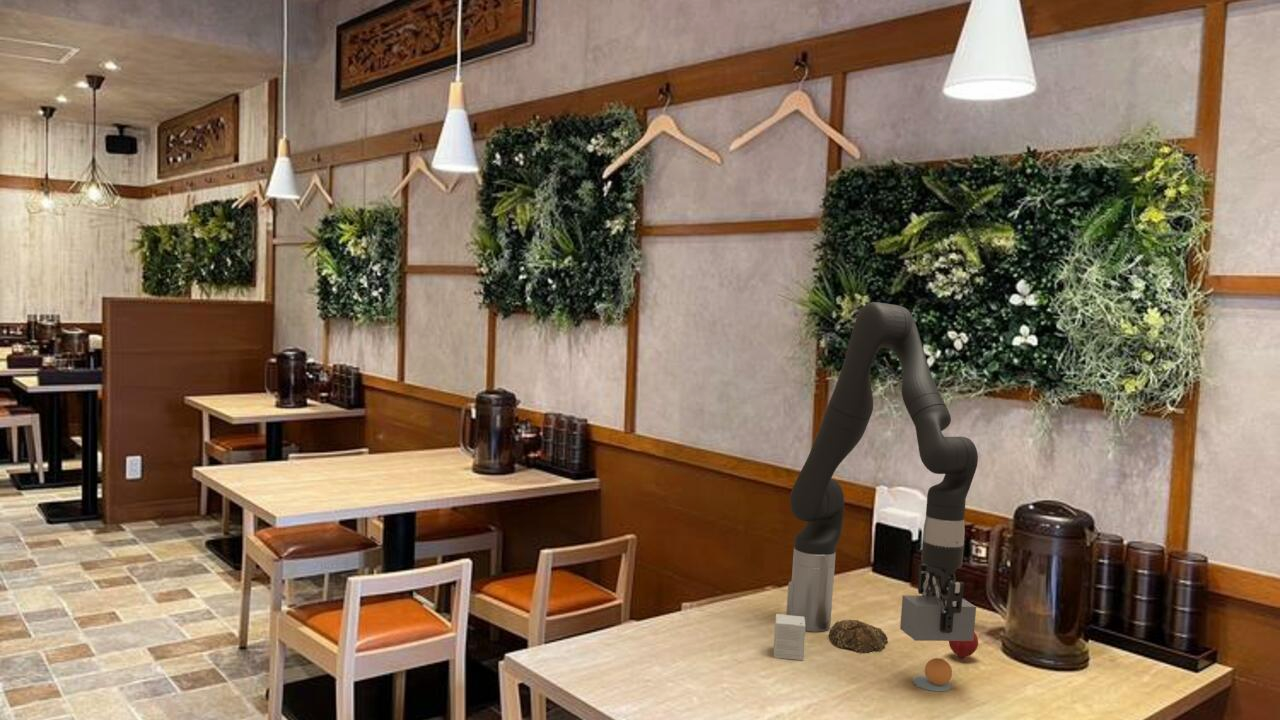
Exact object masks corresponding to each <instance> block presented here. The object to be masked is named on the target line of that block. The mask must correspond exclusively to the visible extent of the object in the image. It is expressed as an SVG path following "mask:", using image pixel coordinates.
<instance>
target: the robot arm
mask: <svg viewBox="0 0 1280 720" xmlns="http://www.w3.org/2000/svg"><path fill="white" fill-rule="evenodd" d="M879 348H880V349H882V348H883V349H888V350H889V349H891V351H892V352H893V354H895V356H896V358H897V359H898V361H899V364H900V365H901V370H902V380H901V397H902V401H903V403H904V405H905V408H906V411H907V412H908V415H909V417H910V419H911V421H912V423H913V425H914V428H915V432H916V433H915V434H916V438H917V439H916V440H917V446H918V452H919V453H918V454H919V457H920V460H921V462H922V464H923V466H924V467H925V468H926V469H927V470H928V471H929V472H931V473H933V474H935V475H944V477H943V479H942V481H941V482H939V483H937V484H935V485H932V486H930V487H929V488H928V491H927V497H926V508H925V509H926V511H925V517H924V518H925V520H924V524H923V530H922V544H921V545H922V547H921V548H922V549H921V556H920V558H921V563H919V564H918V577H917V578H918V581H917V584H918V585H917V592H918V594H919V595H921V596H936V597H937V600H938V601H939V602H940V606H941V620H940V631H941V632H942V633H951V632H952V628H953V615H954V613H961V607H962V599H964V598H963V597H964V588H965V583H964V581H957V580H956V573H955V571H956V570H957V569H961V568H962V566H963V557H964V549H965V533H966V531H965V513H966V499H967V496H968V493H969V491H970V488H971V486H972V485H971V484H972V482H973V479H974V477H975V473H976V471H977V468H978V463H979V456H978V454H979V453H978V449H977V447H976V445H975V443H974V442H973V440H971V439H970V438H969V437H966V436H945V435H943V432H942V431H944V430H946V429H947V428H948V427H949V426H950V424H951V421H952V418H951V413H950V411H949V409H948V407H947V405H946V403H945V401H944V399H943V396H942V395H941V393H940V391H939V389H938V387H937V385H936V383H935V380H934V378H933V375H932V373H931V370H930V367H929V364H928V360H927V357H926V354H925V353H926V352H925V350H924V347H923V344H922V342H921V337H920V334H919V329H918V327H917V324H916V321H915V318H914V317H913V315H912V313H911V312H910V310H908V309H907V308H906V307H904V306H901V305H898V304H891V303H884V302H879V301H876V302H875V301H872V302H868V303H866V304H865V305H864V306H862V308H861V309H860V310H859V311H858V314H857V316H856V318H855V322H854V324H853V327H852V331H851V336H850V338H849V343H848V347H847V350H846V352H845V353H846V354H845V358H844V360H843V364H842V367H841V369H840V373H839V376H838V379H837V382H836V385H835V387H834V390H833V392H832V395H831V397H830V399H829V402H828V404H827V406H826V410H825V412H824V414H823V418H822V422H821V423H820V424H821V425H820V426H819V429H818V430H817V431H818V432H817V434H816V436H815V439H814V441H813V444H812V447H811V449H810V452H809V454H808V456H807V458H806V460H805V462H804V465H803V466H802V468H801V470H800V472H799V474H798V476H797V478H796V480H795V482H794V484H793V486H792V489H791V492H790V497H789V505H790V510H791V513H792V514H793V515H794V517H795V518H796V519H798V520H799V521H802V522H806V524H805V526H804V527H803V528H802V529H801V530H799V532H798V533H796V535H795V536H794V541H793V557H792V570H791V571H792V573H791V580H790V581H789V582H788V588H787V597H786V613H785V615H792V616H802V617H805V626H806V627H805V632H814V633H815V632H817V633H818V632H825V631H828V630H830V629H831V621H832V609H833V608H832V606H833V593H834V582H835V581H834V580H835V579H834V578H835V568H836V567H835V565H836V553H837V545H838V543H839V541H840V538H841V535H842V528H843V518H844V512H845V496H844V491H843V488H842V486H841V485H840V483H839V482H838V481H837V480H836V479H834V478H832V477H833V476H834V474H835V471H836V470H837V468H838V467H839V466H840V465H841V464H842V462H843V461H844V460H845V458H847V457H848V456H849V454H850V453H851V452H852V451H853V450H854V449H855V448H856V446H858V444H859V442H861V439H862V438H863V436H864V434H865V432H866V429H867V427H868V424H869V422H870V419H871V417H872V414H873V411H874V396H873V389H872V384H871V369H872V366H873V362H874V360H875V357H876V354H877V353H878V350H879ZM945 601H947V604H945ZM955 601H957V602H956V606H955Z"/></svg>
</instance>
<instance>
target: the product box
mask: <svg viewBox="0 0 1280 720" xmlns="http://www.w3.org/2000/svg"><path fill="white" fill-rule="evenodd" d="M774 621H775V622H774V636H773V658H775V659H785V660H795V661H796V660H797V661H804V657H805V641H806V631H805V627H806V626H805V617H802V616H792V615H786V614H781V613H775V620H774Z"/></svg>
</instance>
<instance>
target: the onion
mask: <svg viewBox="0 0 1280 720" xmlns="http://www.w3.org/2000/svg"><path fill="white" fill-rule="evenodd" d="M948 644H949V648H950V650H951V652H953V653H954V655H956V656H957V657H958V658H959V659H965V658H968V657H970V656H972V655H973V654H974V653H975V652H976V650H977V649H978V646H979V638H978V635H977V633H976V632H975V631H974V640H973V641H948Z"/></svg>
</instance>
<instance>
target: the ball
mask: <svg viewBox="0 0 1280 720" xmlns="http://www.w3.org/2000/svg"><path fill="white" fill-rule="evenodd" d="M924 672H925V673H924V674H925V676H926V677H927V679H928V680H929V681H930V682H931V683H933V684H935V685H944V684H946V683H949V682H950V681H951V679H952V676H953V670H952V666H951V664H950V663H949V662H948V661H947V660H945V659H943V658H939V657H935V658H932V659H930V660H928V661H927V663H926V664H925V668H924Z"/></svg>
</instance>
